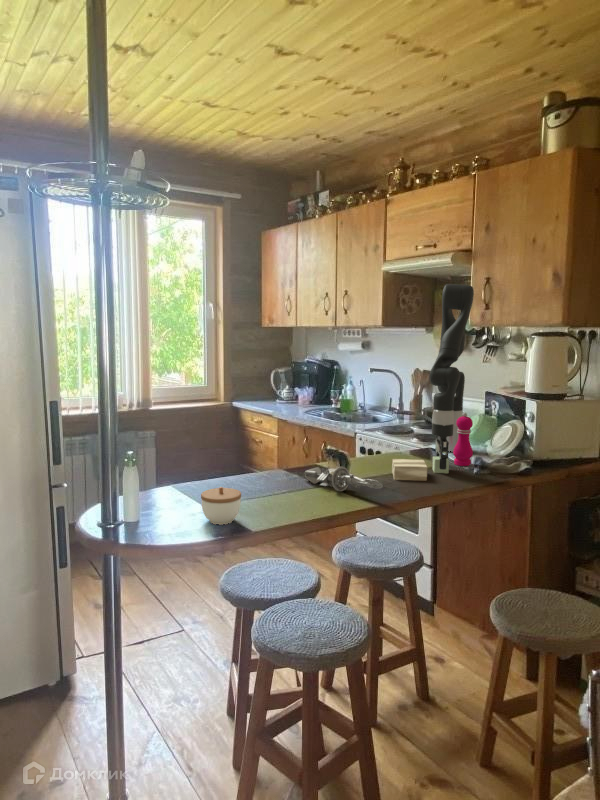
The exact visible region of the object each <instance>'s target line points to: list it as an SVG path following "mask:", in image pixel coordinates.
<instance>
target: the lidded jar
mask: <svg viewBox="0 0 600 800" xmlns="http://www.w3.org/2000/svg"><path fill="white" fill-rule="evenodd" d="M200 495H201V496H200V498H201V509H202V513H203V515H204V517H205V518H206V519H207V520H209V523H210V524H212V523H213V524H212V525H216V524H219V525H218V526H223V524H225V525H229V524H232V523H233V522H232V521H234V520H235V519H236V517H238V515H239V513H240V509H241V505H242V504H241V503H242V492H241V491H240V490H238V489H236V488H231V487H230V488H229V487H223V486H219V487H218V488H210V489H207V490H204V491H202V492H201V493H200ZM228 523H229V524H228Z"/></svg>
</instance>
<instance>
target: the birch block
mask: <svg viewBox="0 0 600 800" xmlns="http://www.w3.org/2000/svg"><path fill="white" fill-rule="evenodd" d="M391 473H392V476H393V480H394V481H395V480H397V481H421V482H423V481H428V479H427V478H428V466H427V464H426V462H425V460H424V459H410V458H409V459H408V458H407V459H406V458H392V464H391Z"/></svg>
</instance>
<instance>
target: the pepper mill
mask: <svg viewBox="0 0 600 800" xmlns="http://www.w3.org/2000/svg"><path fill="white" fill-rule="evenodd" d="M473 422H474V421H473V420H472V418H471V417H469V416H468V413H467V412H465V411H464V412H462V417H459V418H458V419H457V422H456V425H457V427H458V429H457V430H458V431H457V433H458V441H457V444H456V446H455V447H454V451H453V452H452V453H453V456H454V457H455V458H454V460H453V464H454V465H456V466H460V467H469V465H470V464H471V465H472V460H471V458H472V457H473V454H474V451H473V448H472V445H471V442H470V435H471V433H472V429H471V428H472V427H473V425H474V423H473ZM471 465H470V466H471Z"/></svg>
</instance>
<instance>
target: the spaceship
mask: <svg viewBox="0 0 600 800" xmlns="http://www.w3.org/2000/svg"><path fill="white" fill-rule="evenodd" d="M331 473H332V474H331ZM304 478H305V479H307V480H308V481H310V482H311V483H312V484H314V485H315V484H318V483H319V482H320V481H324V482H322V483H320V484H319V486H324V487H326V486H328V487H329V486H330V487H333V489H334V490H335V491H337V492H343V491H345V490H346V489H347V488H348V487H349V486H350V485H352V487H353V488H356V489H357V488H358V487H359V486H364V487H368V488H371V489H377V490H378V489H382V488H383V487H384V484H383V483H382V482H381V481H379V480H378V479H377V480H376V479H370V478H366V479H365V478H361V477H357V476H354V474H353V473H350V472H349V470H348V468H346V467H345V466H339V467H336V468H327V467H321V468H320V467H319V466H317V467H312V468H309V469H307V470H304Z"/></svg>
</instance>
